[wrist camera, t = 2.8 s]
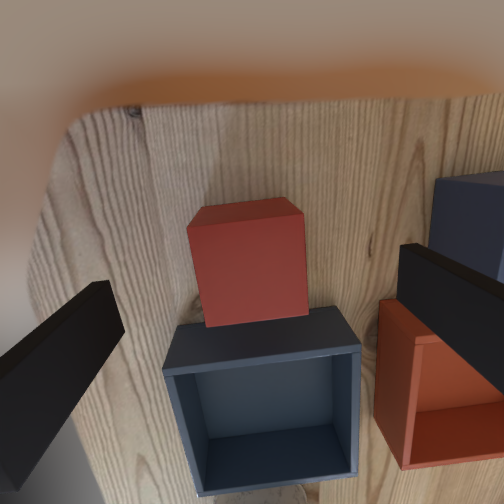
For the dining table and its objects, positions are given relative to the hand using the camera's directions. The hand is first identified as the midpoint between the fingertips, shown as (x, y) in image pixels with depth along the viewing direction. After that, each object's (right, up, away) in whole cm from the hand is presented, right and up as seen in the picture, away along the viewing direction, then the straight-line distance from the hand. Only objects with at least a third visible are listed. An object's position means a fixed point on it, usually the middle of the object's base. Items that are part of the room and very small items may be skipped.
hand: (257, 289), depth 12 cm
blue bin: (+1, -9, +10) cm, 14 cm away
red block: (-1, +2, +6) cm, 7 cm away
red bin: (+16, -7, +10) cm, 20 cm away
